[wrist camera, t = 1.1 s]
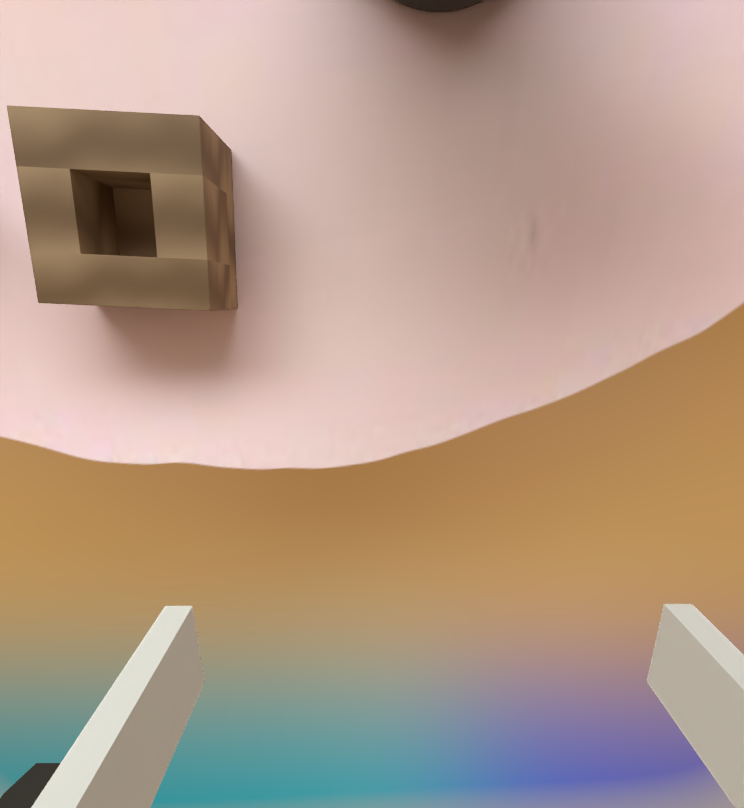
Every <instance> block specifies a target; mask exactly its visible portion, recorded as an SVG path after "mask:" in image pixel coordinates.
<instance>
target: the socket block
mask: <svg viewBox="0 0 744 808" xmlns="http://www.w3.org/2000/svg"><path fill="white" fill-rule="evenodd" d="M7 110H8V116H9V122H10V129H11V135H12V141H13V147H14V154H15V160H16V166H17V172H18V179H19V185H20V191H21V197H22V203H23V210H24V216H25V222H26V228H27V235H28V241H29V247H30V253H31V260H32V266H33V272H34V278H35V284H36V291H37V297H38V303H53V304H76V305H98V306H120V307H142V308H164V309H186V310H208V311H212V310H226V309H237V286H236V261H235V235H234V210H233V184H232V159H231V149H230V148H229V147H228V146H227V145H226V144H225V143H224V142H223V141H222V140H221V139H220V138H219V137H218V135H217V134H216V133H215V132H214V131H213V130H212V129H211V128H210V127H209V126H208V125H207V124H206V123H205V121H204V120H203V119H202V118H201V117H200V116H194V115H175V114H156V113H137V112H118V111H99V110H80V109H61V108H42V107H23V106H7Z"/></svg>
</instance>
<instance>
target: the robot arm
mask: <svg viewBox="0 0 744 808" xmlns="http://www.w3.org/2000/svg"><path fill="white" fill-rule="evenodd" d="M396 1H398V2H400V3H402V4H405V5H407V6H410V7H413V8H416V9H420V10H425V11H434V12H444V11H453V10H458V9H462V8H466V7H469V6H471V5H474V4H476V3H478V2H481V1H482V0H396ZM647 683H648V684H649V685H650V687H651V688H652V690H653V691H654V693H655V694H656V695H657V697H658V698H659V700H660V701H661V703H662V704H663V705H664V707H665V708H666V710H667V711H668V713H669V714H670V715H671V717H672V718H673V720H674V721H675V723H676V724H677V725H678V727H679V728H680V730H681V731H682V733H683V734H684V735H685V737H686V738H687V740H688V741H689V743H690V744H691V745H692V747H693V748H694V750H695V751H696V753H697V754H698V755H699V757H700V758H701V760H702V761H703V763H704V764H705V765H706V767H707V768H708V770H709V771H710V773H711V774H712V775H713V777H714V778H715V779H716V781H717V782H718V784H719V785H720V787H721V788H722V790H723V791H724V793H725V794H726V795H727V797H728V798H729V800H730V801H731V803H732V804H733V805H734V807H735V808H744V655H743V654H742V653H741V652H740V651H739V650H738V649H737V648H736V647H735V646H734V645H733V644H732V643H731V642H730V641H729V640H728V639H727V638H726V637H725V636H724V635H723V634H722V633H721V632H720V631H719V630H718V629H717V628H716V627H715V626H714V625H713V624H712V623H711V622H710V621H709V620H708V619H707V618H705V617H704V616H703V615H702V614H701V613H700V612H699V611H698V610H697V609H696V608H695V607H694V606H693V605H692V604H664V607H663V611H662V615H661V620H660V624H659V629H658V633H657V637H656V642H655V647H654V651H653V655H652V660H651V664H650V668H649V673H648V677H647ZM203 685H204V676H203V670H202V663H201V657H200V651H199V644H198V638H197V632H196V625H195V619H194V613H193V607H192V606H165V607H164V609H163V610H162V612H161V614H160V615H159V616H158V618H157V619H156V621H155V622H154V624H153V625H152V627H151V629H150V630H149V631H148V633H147V634H146V636H145V637H144V639H143V640H142V642H141V643H140V645H139V646H138V648H137V649H136V651H135V652H134V654H133V655H132V657H131V658H130V660H129V661H128V663H127V664H126V666H125V668H124V669H123V670H122V672H121V673H120V675H119V676H118V678H117V679H116V681H115V682H114V684H113V685H112V687H111V689H110V690H109V691H108V693H107V695H106V696H105V698H104V699H103V700H102V702H101V703H100V705H99V706H98V708H97V709H96V711H95V712H94V714H93V715H92V717H91V719H90V720H89V721H88V723H87V724H86V726H85V727H84V729H83V731H82V732H81V734H80V735H79V736H78V738H77V739H76V741H75V743H74V744H73V746H72V747H71V749H70V750H69V752H68V753H67V755H66V756H65V758H64V759H63V761H62V762H61V763H36V764H35V765H34V766H33V767H32V768H31V769H30V770H29V771H28V772H26V773H25V774H24V775H23V776H22V777H21V778H20V779H19V780H18V781H17V782H16V783H15V784H14V785H13V786H12V787H10V788H9V789H8V790H7V791H6V792H5V793H4V794H3V795H2V797H1V798H0V808H150V807H151V804H152V802H153V800H154V798H155V795H156V793H157V791H158V788H159V786H160V784H161V781H162V779H163V777H164V774H165V772H166V770H167V768H168V765H169V763H170V761H171V758H172V756H173V754H174V751H175V749H176V747H177V745H178V742H179V740H180V738H181V735H182V733H183V731H184V728H185V726H186V724H187V722H188V719H189V717H190V715H191V712H192V710H193V708H194V705H195V703H196V701H197V698H198V696H199V694H200V692H201V689H202V687H203Z"/></svg>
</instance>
